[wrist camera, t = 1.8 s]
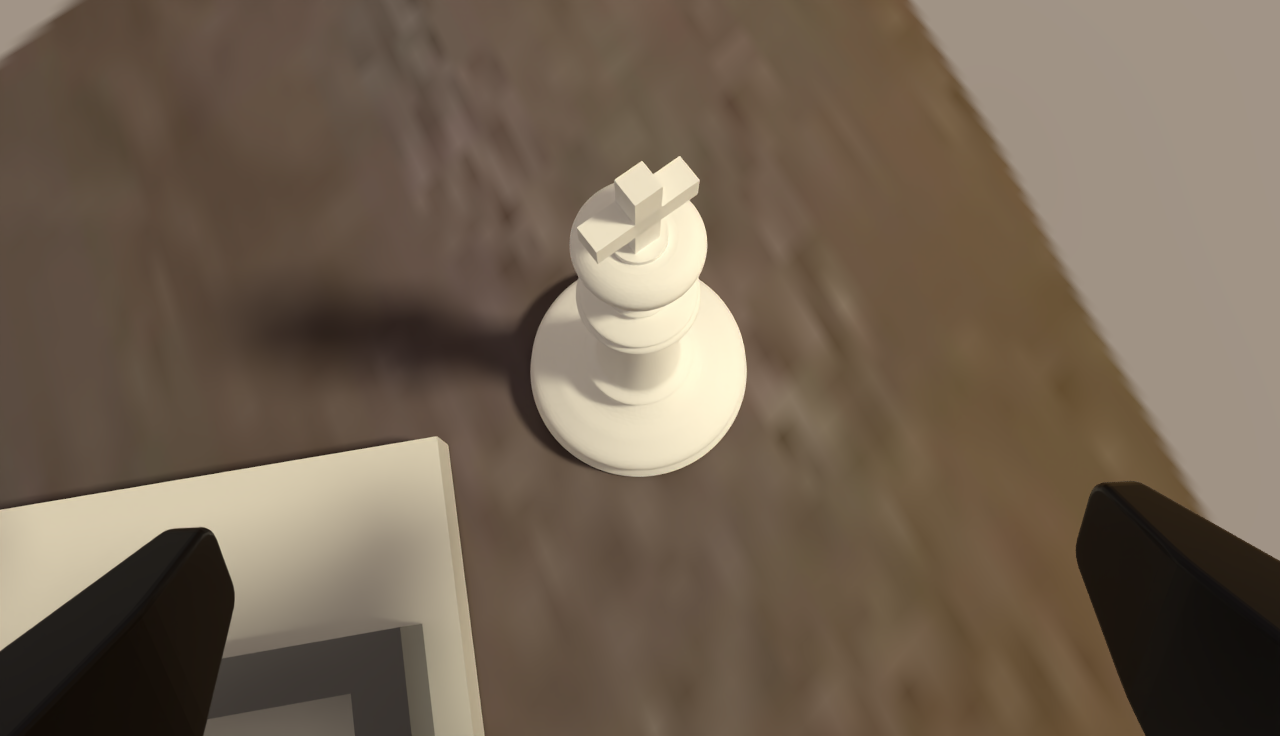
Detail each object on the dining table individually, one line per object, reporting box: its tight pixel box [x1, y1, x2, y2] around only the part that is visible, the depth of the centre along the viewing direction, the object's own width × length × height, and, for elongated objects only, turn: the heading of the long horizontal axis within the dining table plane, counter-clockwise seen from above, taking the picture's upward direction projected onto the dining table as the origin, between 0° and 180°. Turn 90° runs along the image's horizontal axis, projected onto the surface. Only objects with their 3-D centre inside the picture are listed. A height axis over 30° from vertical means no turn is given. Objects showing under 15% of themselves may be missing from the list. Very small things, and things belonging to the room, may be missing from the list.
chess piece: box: [530, 156, 747, 477], centre depth 16 cm, size 5×5×10 cm
